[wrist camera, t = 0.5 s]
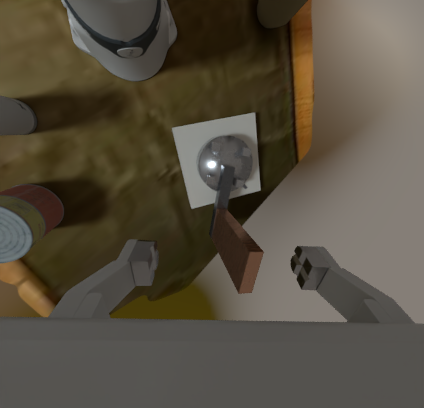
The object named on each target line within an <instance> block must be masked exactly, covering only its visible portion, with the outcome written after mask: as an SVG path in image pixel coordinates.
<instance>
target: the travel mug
mask: <svg viewBox="0 0 424 408" xmlns="http://www.w3.org/2000/svg"><path fill="white" fill-rule="evenodd" d="M36 126H37V118H36V115H35V113H34V112H33V110H32V109H31V108H30V107H29V106H28V105H26V104H25V103H24V102H21V101H19V100H16V99H12V98H8V97H4V96H0V135H26V134H30V133H31V132H33V131H34V130H35V128H36Z"/></svg>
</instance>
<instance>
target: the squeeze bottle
mask: <svg viewBox="0 0 424 408" xmlns="http://www.w3.org/2000/svg"><path fill="white" fill-rule="evenodd" d="M306 2H307V0H258V4H257V16H258V20H259V21H260V23H261V25H262V26H264V27H265V28H270V29H271V28H276V27H281V26H283V25H285V24H287V23H288V21H289V20H290V19H291V18H292V17H293V16H294V15H295V14H296V13H297V12H298V10H299V9H300V8H301V7H302V6H303V5H304V4H305V3H306Z"/></svg>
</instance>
